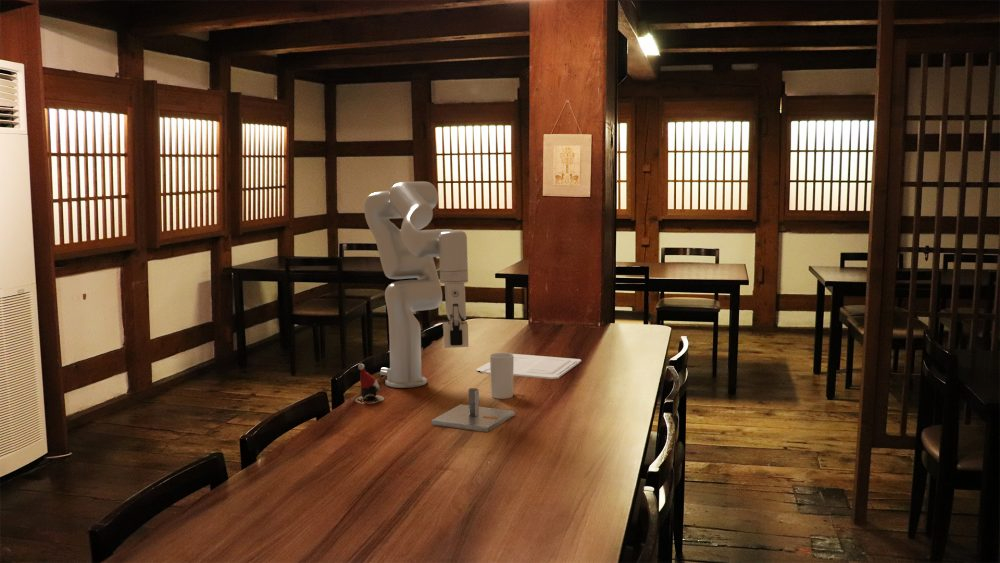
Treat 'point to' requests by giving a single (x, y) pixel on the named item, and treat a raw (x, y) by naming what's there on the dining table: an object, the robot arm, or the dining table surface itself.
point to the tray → (538, 366)
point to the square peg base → (473, 415)
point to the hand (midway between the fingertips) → (455, 342)
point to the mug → (501, 375)
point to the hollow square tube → (447, 334)
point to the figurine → (368, 387)
